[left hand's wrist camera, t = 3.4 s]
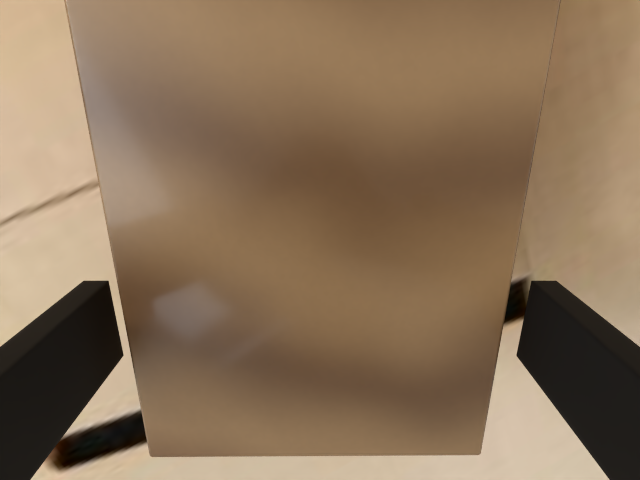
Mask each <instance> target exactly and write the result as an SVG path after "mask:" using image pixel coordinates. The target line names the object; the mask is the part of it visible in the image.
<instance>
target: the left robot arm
mask: <svg viewBox="0 0 640 480" xmlns="http://www.w3.org/2000/svg"><path fill="white" fill-rule="evenodd" d="M122 357H123V351H122V346H121V341H120V336H119V331H118V326H117V321H116V316H115V311H114V306H113V301H112V296H111V291H110V286H109V281H83V282H82V283H80V284H79V285H78V286H77V287H75V288H74V289H73V290H72V291H70V292H69V293H68V294H67V295H65V296H64V297H63V298H61V299H60V300H59V301H58V302H56V303H55V304H54V305H53V306H51V307H50V308H49V309H48V310H46V311H45V312H44V313H43V314H41V315H40V316H39V317H38V318H36V319H35V320H34V321H32V322H31V323H30V324H29V325H27V326H26V327H25V328H24V329H22V330H21V331H20V332H19V333H17V334H16V335H15V336H14V337H12V338H11V339H10V340H8V341H7V342H6V343H5V344H3V345H2V346H1V347H0V480H30V479H31V478H32V477H33V475H34V474H35V473H36V471H37V470H38V469H39V467H40V466H41V465H42V463H43V462H44V461H45V459H46V458H47V457H48V455H49V454H50V453H51V451H52V450H53V449H54V447H55V446H56V445H57V443H58V442H59V441H60V439H61V438H62V437H63V435H64V434H65V433H66V431H67V430H68V429H69V427H70V426H71V425H72V423H73V422H74V421H75V419H76V418H77V417H78V415H79V414H80V413H81V411H82V410H83V409H84V407H85V406H86V405H87V403H88V402H89V401H90V399H91V398H92V397H93V395H94V394H95V393H96V391H97V390H98V389H99V387H100V386H101V385H102V383H103V382H104V381H105V379H106V378H107V377H108V375H109V374H110V373H111V371H112V370H113V369H114V367H115V366H116V365H117V363H118V362H119V361H120V359H121V358H122ZM517 357H518V358H519V359H520V361H521V362H522V363H523V365H524V366H525V367H526V369H527V370H528V371H529V373H530V374H531V375H532V377H533V378H534V379H535V381H536V382H537V383H538V385H539V386H540V387H541V389H542V390H543V391H544V393H545V394H546V395H547V397H548V398H549V399H550V401H551V402H552V403H553V405H554V406H555V407H556V409H557V410H558V411H559V413H560V414H561V415H562V417H563V418H564V419H565V421H566V422H567V423H568V425H569V426H570V427H571V429H572V430H573V431H574V433H575V434H576V435H577V437H578V438H579V439H580V441H581V442H582V443H583V445H584V446H585V447H586V449H587V450H588V451H589V453H590V454H591V455H592V457H593V458H594V459H595V461H596V462H597V463H598V465H599V466H600V467H601V469H602V470H603V471H604V473H605V474H606V475H607V477H608V478H609V479H610V480H640V347H639V346H638V345H637V344H635V343H634V342H633V341H632V340H630V339H629V338H628V337H626V336H625V335H624V334H623V333H621V332H620V331H619V330H618V329H616V328H615V327H614V326H613V325H611V324H610V323H609V322H608V321H606V320H605V319H604V318H602V317H601V316H600V315H599V314H597V313H596V312H595V311H594V310H592V309H591V308H590V307H589V306H587V305H586V304H585V303H584V302H582V301H581V300H580V299H579V298H577V297H576V296H575V295H573V294H572V293H571V292H570V291H568V290H567V289H566V288H565V287H563V286H562V285H561V284H560V283H558V282H557V281H531V286H530V291H529V296H528V301H527V306H526V311H525V316H524V321H523V326H522V331H521V336H520V341H519V346H518V351H517Z"/></svg>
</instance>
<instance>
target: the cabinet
mask: <svg viewBox="0 0 640 480" xmlns="http://www.w3.org/2000/svg"><path fill="white" fill-rule="evenodd" d="M64 1H65V6H66V11H67V17H68V22H69V27H70V32H71V38H72V43H73V48H74V54H75V59H76V64H77V70H78V75H79V80H80V86H81V91H82V96H83V102H84V107H85V112H86V118H87V123H88V128H89V134H90V139H91V144H92V150H93V155H94V160H95V166H96V171H97V176H98V182H99V187H100V192H101V198H102V203H103V208H104V214H105V219H106V224H107V230H108V235H109V240H110V246H111V251H112V256H113V262H114V267H115V272H116V278H117V283H118V288H119V294H120V299H121V304H122V309H123V315H124V320H125V325H126V331H127V336H128V341H129V347H130V352H131V357H132V363H133V368H134V373H135V379H136V384H137V389H138V395H139V400H140V405H141V411H142V416H143V421H144V427H145V432H146V437H147V443H148V448H149V453H150V456H151V457H215V456H391V455H479V454H480V453H481V448H482V442H483V437H484V431H485V425H486V420H487V414H488V408H489V403H490V397H491V391H492V386H493V380H494V374H495V369H496V363H497V357H498V352H499V346H500V340H501V335H502V329H503V323H504V318H505V312H506V306H507V301H508V295H509V290H510V284H511V278H512V273H513V267H514V261H515V256H516V250H517V244H518V239H519V233H520V227H521V222H522V216H523V210H524V205H525V199H526V193H527V188H528V182H529V176H530V171H531V165H532V159H533V154H534V148H535V142H536V137H537V131H538V125H539V120H540V114H541V108H542V103H543V97H544V91H545V86H546V80H547V74H548V69H549V63H550V57H551V52H552V46H553V40H554V35H555V29H556V24H557V18H558V12H559V7H560V1H561V0H64Z"/></svg>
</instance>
